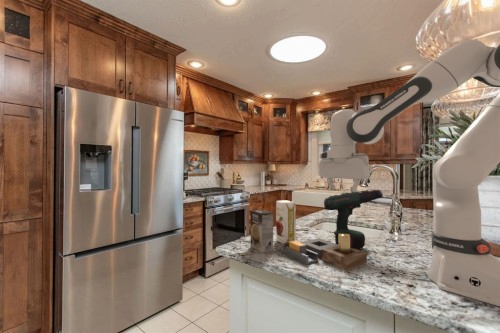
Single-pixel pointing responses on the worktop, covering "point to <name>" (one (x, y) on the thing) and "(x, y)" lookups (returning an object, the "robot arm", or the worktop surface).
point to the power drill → (350, 213)
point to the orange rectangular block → (298, 246)
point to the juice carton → (285, 221)
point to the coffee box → (262, 230)
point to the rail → (300, 255)
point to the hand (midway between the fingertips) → (342, 190)
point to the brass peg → (344, 243)
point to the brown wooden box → (344, 257)
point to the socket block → (318, 245)
